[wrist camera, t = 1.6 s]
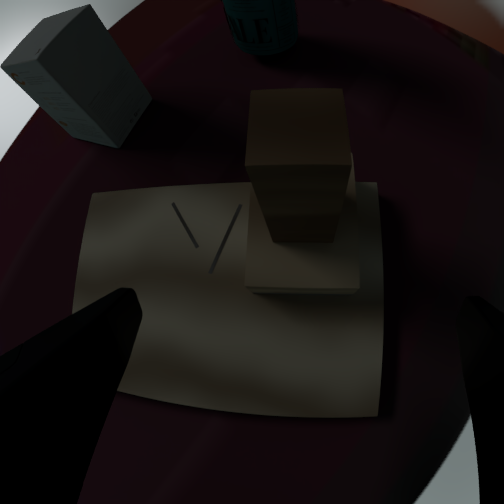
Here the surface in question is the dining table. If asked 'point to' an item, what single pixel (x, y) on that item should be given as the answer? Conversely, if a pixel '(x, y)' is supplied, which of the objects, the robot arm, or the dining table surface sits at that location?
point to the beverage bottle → (262, 25)
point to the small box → (79, 77)
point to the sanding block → (301, 194)
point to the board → (232, 307)
